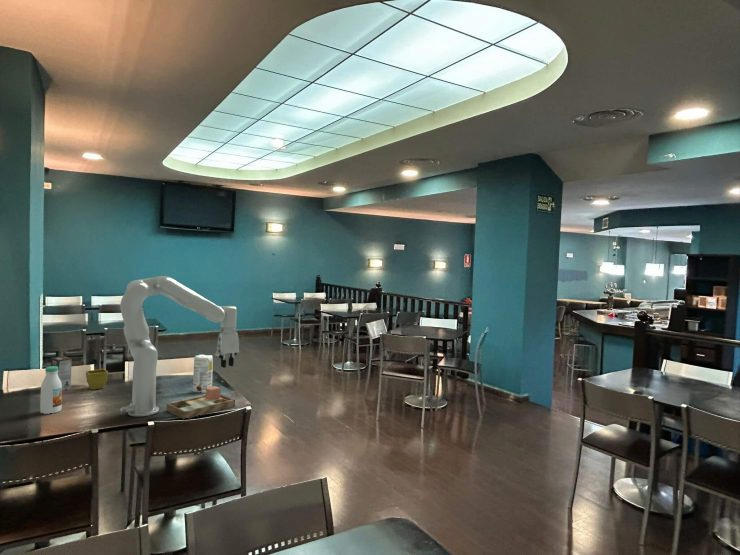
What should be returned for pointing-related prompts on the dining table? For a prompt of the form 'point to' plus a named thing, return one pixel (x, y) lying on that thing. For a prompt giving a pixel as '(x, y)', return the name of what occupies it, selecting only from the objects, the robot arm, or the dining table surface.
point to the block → (213, 393)
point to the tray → (199, 406)
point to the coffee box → (63, 370)
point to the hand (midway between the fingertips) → (227, 366)
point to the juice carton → (202, 373)
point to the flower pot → (96, 378)
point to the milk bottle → (51, 392)
